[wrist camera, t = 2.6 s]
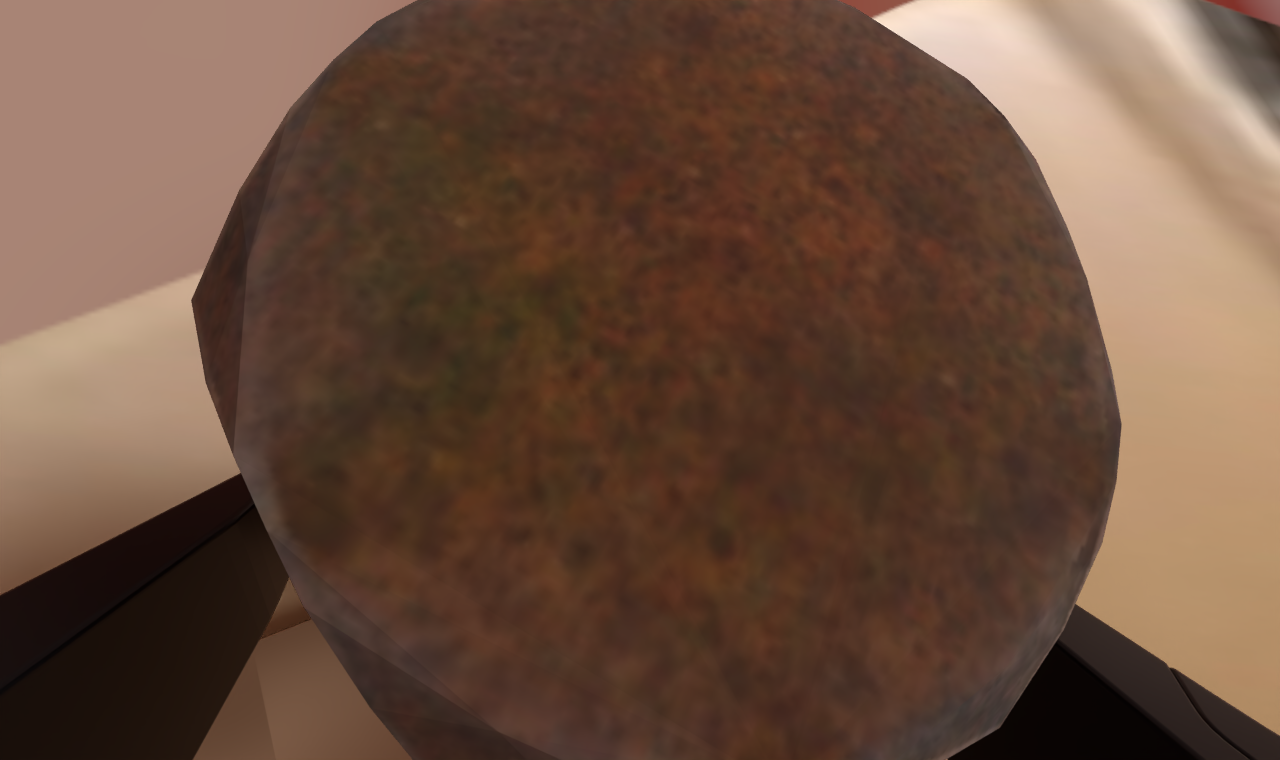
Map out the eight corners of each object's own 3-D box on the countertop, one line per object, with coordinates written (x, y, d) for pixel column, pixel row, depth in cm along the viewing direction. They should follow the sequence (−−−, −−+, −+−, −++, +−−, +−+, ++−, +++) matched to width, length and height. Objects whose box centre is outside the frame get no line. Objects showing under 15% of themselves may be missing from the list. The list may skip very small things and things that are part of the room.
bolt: (498, 561, 16) (-36, 952, 2) (500, 407, 17) (214, -122, 3) (674, 549, 17) (1308, 725, 3) (664, 404, 18) (1051, -10, 4)
